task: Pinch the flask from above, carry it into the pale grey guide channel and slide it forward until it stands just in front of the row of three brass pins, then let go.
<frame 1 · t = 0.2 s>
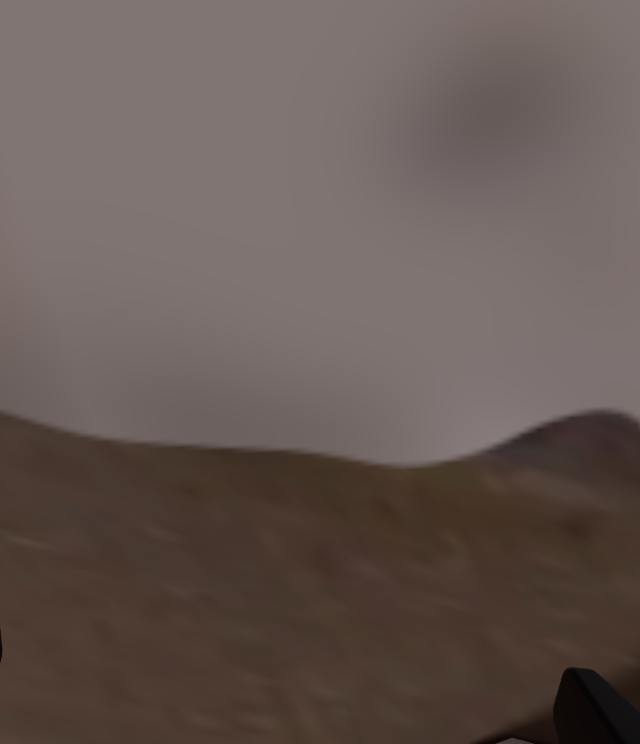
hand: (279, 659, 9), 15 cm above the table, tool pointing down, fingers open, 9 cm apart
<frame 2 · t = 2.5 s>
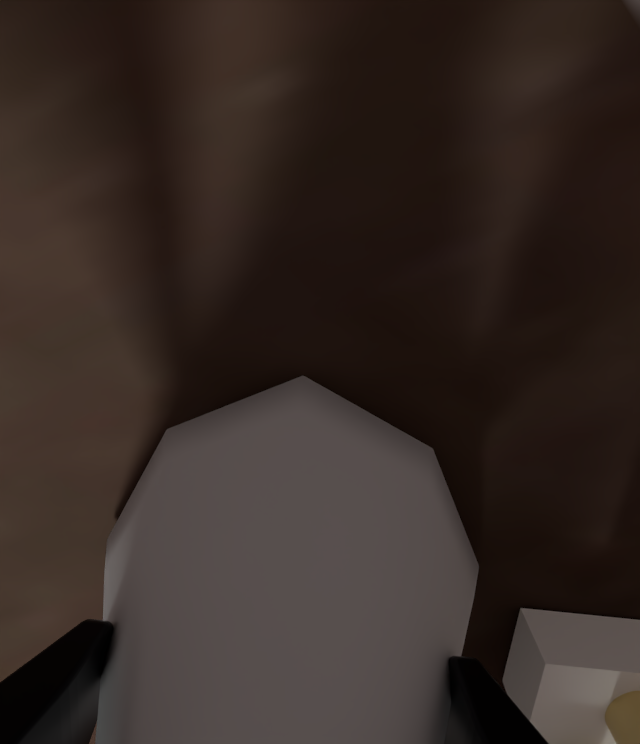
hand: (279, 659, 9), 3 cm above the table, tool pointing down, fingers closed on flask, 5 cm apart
flask: (294, 538, 12), on the table, touching gripper
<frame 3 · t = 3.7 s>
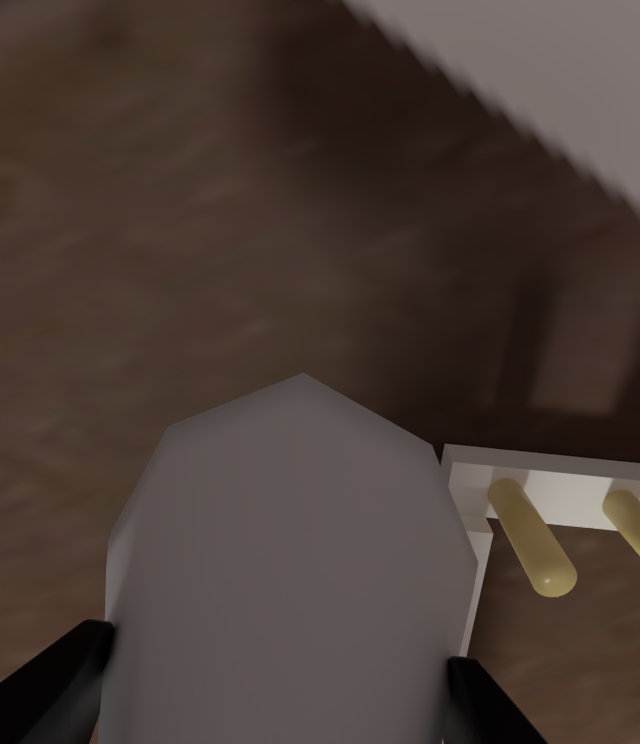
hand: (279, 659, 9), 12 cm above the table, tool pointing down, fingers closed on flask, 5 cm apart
flask: (294, 535, 12), point 8 cm above the table, touching gripper
pin header: (580, 552, 21), on the table
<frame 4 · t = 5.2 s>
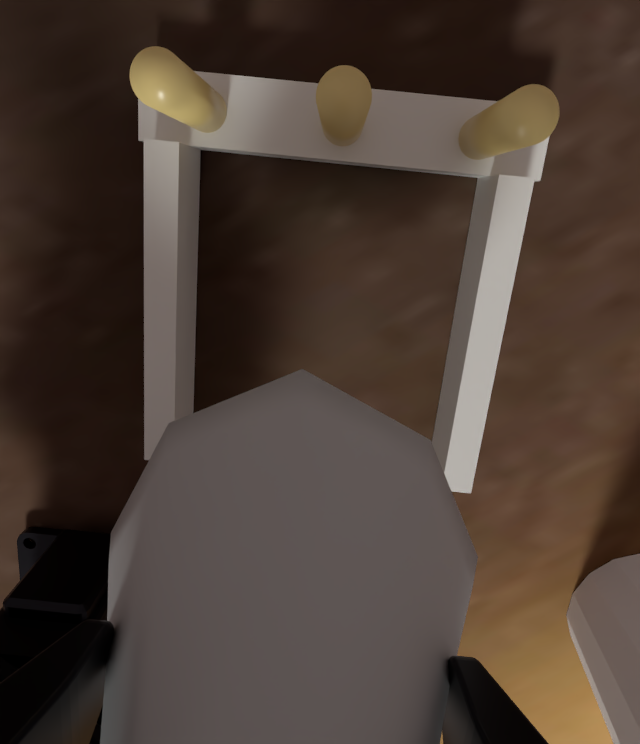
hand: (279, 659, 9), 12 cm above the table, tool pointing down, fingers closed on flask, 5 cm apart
shot glass: (633, 607, 23), on the table
flask: (295, 531, 12), point 9 cm above the table, touching gripper
pin header: (332, 227, 18), on the table
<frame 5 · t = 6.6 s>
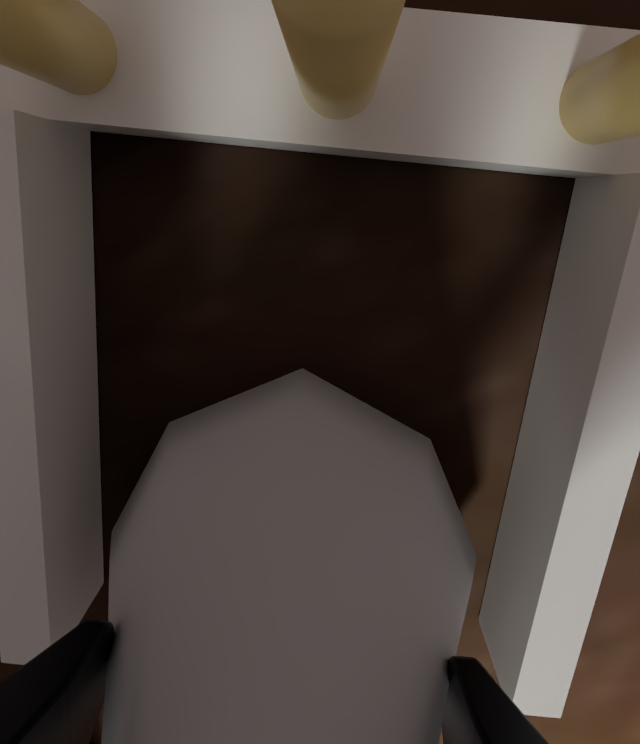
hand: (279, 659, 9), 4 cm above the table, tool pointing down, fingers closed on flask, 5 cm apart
flask: (295, 530, 12), point 1 cm above the table, touching gripper
pin header: (322, 264, 11), on the table
when the fingers open (4 cm above the table, at t = 7.8 s): flask stays where it is, resting in pin header.
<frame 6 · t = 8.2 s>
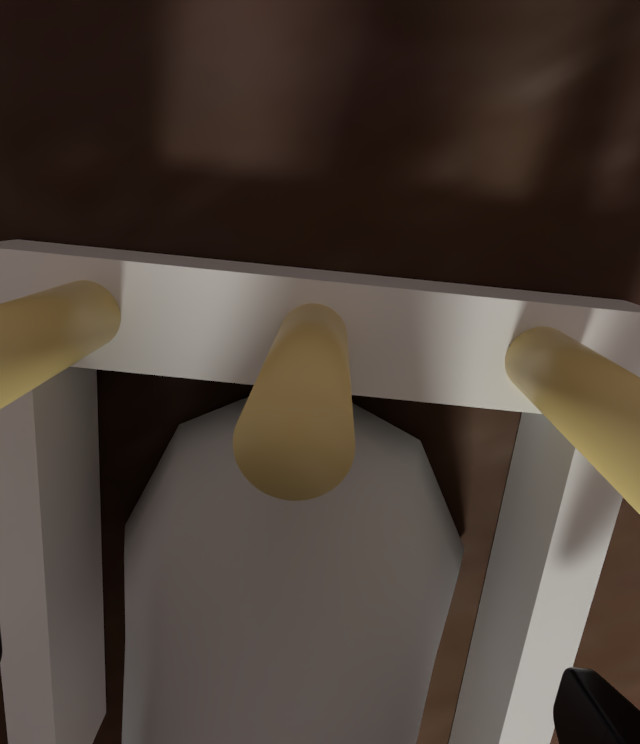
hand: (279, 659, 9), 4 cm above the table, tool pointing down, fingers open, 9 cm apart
flask: (295, 524, 13), resting in pin header
pin header: (303, 453, 12), on the table
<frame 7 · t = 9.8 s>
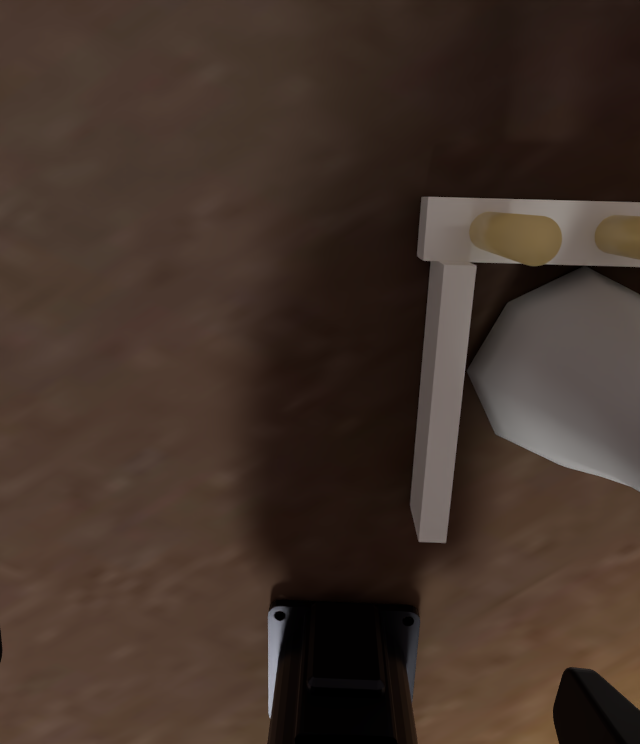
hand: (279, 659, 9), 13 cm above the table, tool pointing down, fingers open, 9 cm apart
flask: (565, 366, 21), resting in pin header
pin header: (578, 317, 20), on the table
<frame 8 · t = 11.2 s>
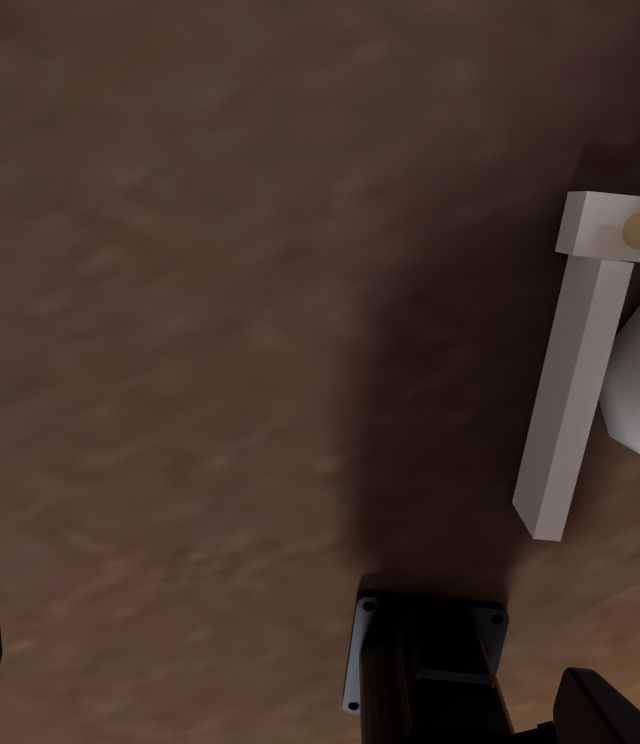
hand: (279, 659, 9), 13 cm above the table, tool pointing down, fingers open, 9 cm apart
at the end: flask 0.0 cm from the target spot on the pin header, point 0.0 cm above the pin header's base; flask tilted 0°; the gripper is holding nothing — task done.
